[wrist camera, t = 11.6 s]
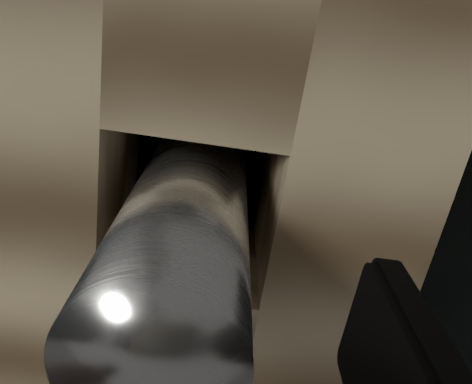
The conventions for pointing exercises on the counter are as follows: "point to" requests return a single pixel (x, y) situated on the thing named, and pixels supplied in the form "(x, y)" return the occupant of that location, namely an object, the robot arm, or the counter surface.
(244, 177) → the long pin
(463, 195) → the counter surface
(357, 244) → the hole block
